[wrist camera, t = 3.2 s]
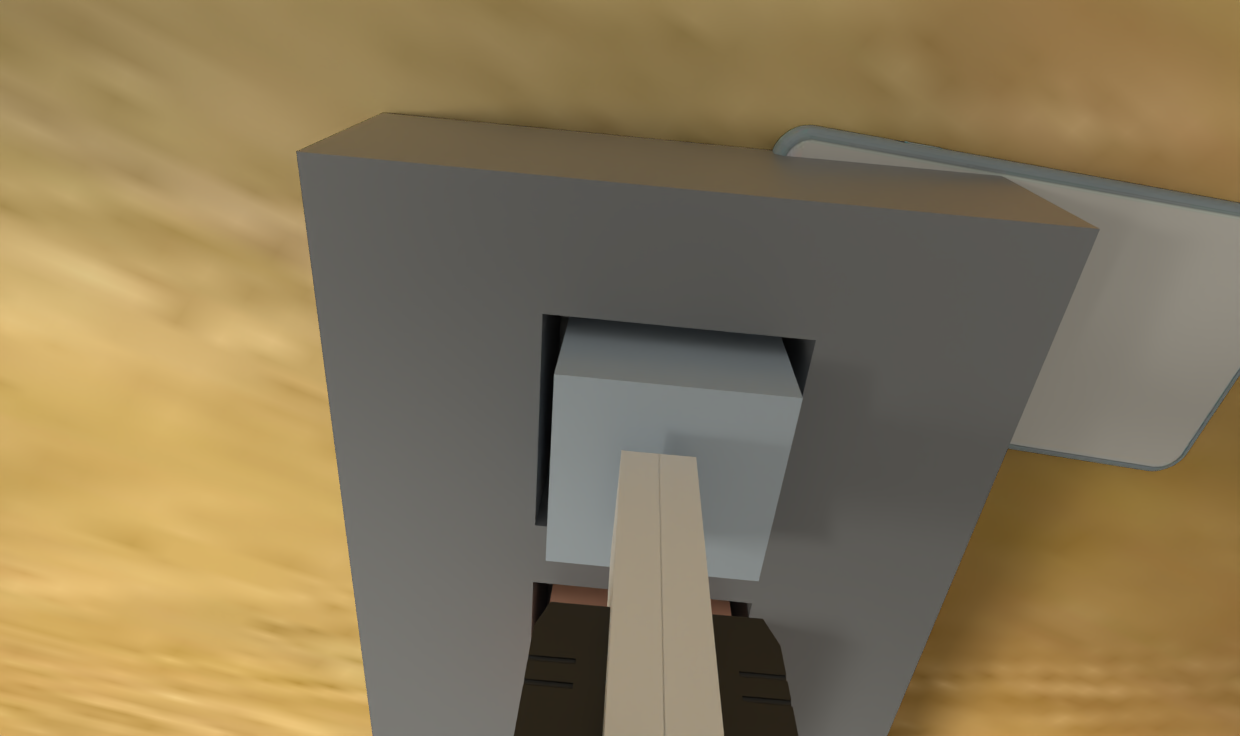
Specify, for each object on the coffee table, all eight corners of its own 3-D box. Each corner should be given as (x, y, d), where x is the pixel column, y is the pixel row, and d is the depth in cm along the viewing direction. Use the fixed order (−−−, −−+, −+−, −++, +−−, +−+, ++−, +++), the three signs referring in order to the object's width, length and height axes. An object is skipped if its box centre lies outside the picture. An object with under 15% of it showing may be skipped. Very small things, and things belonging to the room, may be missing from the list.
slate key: (565, 460, 20) (545, 560, 16) (574, 297, 18) (554, 374, 14) (740, 477, 20) (758, 581, 16) (774, 316, 18) (803, 398, 14)
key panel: (429, 765, 32) (393, 891, 27) (382, 112, 18) (296, 151, 14) (784, 800, 32) (804, 931, 27) (994, 171, 18) (1099, 229, 14)
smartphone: (1175, 478, 22) (708, 404, 21) (1154, 460, 23) (705, 388, 22) (1348, 223, 18) (783, 121, 17) (1316, 213, 19) (777, 115, 18)
